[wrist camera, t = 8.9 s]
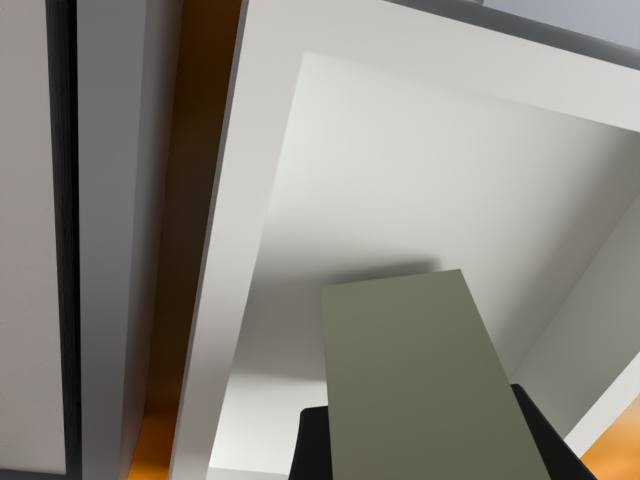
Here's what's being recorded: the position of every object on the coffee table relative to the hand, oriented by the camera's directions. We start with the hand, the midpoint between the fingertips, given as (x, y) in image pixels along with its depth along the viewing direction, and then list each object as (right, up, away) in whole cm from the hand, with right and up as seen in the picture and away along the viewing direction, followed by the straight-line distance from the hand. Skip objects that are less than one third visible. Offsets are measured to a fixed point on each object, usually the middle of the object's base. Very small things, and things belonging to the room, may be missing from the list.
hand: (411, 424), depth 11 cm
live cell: (0, +1, +2) cm, 2 cm away
